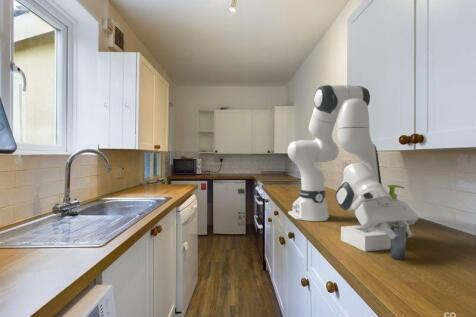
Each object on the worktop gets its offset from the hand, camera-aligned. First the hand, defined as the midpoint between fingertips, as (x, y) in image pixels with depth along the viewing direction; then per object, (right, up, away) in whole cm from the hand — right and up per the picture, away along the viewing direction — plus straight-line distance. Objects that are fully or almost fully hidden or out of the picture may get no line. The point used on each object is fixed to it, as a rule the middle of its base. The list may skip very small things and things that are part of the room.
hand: (402, 237), depth 80 cm
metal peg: (-1, -6, +1) cm, 7 cm away
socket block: (-4, -6, +14) cm, 16 cm away
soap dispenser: (+9, -7, +22) cm, 24 cm away
